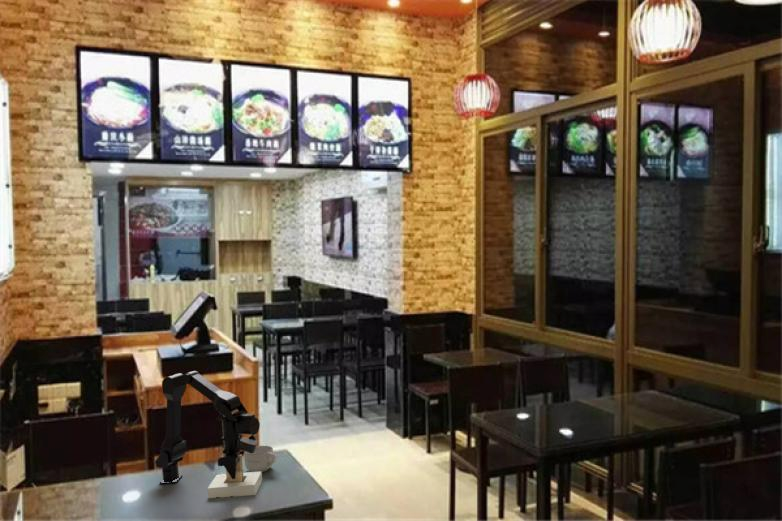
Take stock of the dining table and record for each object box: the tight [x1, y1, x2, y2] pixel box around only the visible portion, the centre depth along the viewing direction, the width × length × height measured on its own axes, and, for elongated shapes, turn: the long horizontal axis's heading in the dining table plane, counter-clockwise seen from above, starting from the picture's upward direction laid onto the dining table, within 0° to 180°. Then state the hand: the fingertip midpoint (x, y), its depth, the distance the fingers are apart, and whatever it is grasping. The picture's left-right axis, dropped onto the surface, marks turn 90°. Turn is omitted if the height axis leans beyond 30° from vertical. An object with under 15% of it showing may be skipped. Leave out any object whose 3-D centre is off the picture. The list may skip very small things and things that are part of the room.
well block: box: [207, 471, 263, 499], centre depth 218 cm, size 12×16×4 cm
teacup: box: [243, 445, 277, 473], centre depth 234 cm, size 14×11×8 cm
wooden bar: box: [225, 455, 244, 483], centre depth 218 cm, size 4×5×9 cm
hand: (234, 476), depth 218 cm, fingers closed on wooden bar, 3 cm apart
